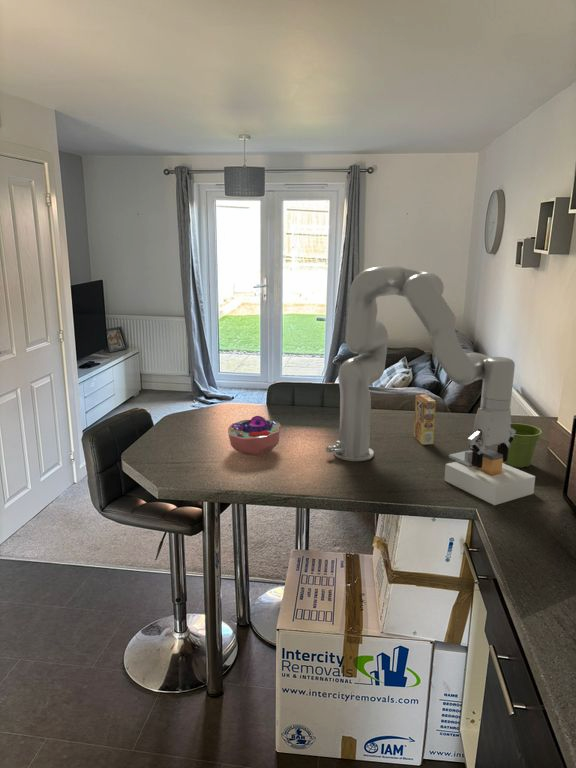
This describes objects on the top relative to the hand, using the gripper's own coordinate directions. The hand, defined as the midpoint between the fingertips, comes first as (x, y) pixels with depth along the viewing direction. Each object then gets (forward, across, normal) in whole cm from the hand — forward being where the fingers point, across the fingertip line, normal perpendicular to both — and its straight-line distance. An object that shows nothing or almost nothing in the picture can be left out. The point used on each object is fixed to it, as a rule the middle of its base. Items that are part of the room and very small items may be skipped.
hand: (489, 463), depth 155 cm
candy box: (+7, -11, -38) cm, 40 cm away
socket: (+7, 0, 0) cm, 7 cm away
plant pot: (+7, -22, -8) cm, 24 cm away
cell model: (+8, +45, -55) cm, 72 cm away
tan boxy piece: (+6, 0, 0) cm, 6 cm away
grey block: (+2, 0, -8) cm, 8 cm away
